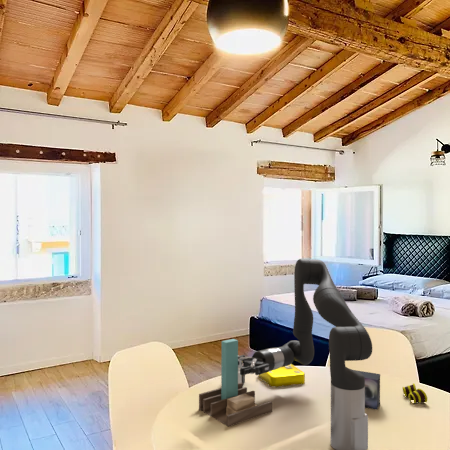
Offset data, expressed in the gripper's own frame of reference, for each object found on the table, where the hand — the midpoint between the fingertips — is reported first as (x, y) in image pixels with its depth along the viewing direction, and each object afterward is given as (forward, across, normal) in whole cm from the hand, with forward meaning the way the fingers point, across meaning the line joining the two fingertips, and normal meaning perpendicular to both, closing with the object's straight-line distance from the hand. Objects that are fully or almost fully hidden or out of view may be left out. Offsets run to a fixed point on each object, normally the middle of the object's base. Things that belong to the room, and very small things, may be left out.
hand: (232, 368), depth 146 cm
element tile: (-35, -12, +15) cm, 40 cm away
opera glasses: (-58, +31, +14) cm, 67 cm away
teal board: (+1, 0, +12) cm, 13 cm away
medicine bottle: (-14, -16, +14) cm, 25 cm away
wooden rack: (+1, +3, +14) cm, 14 cm away
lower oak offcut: (+1, +6, +12) cm, 14 cm away
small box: (-40, +23, +14) cm, 48 cm away
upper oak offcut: (+2, +6, +10) cm, 12 cm away
